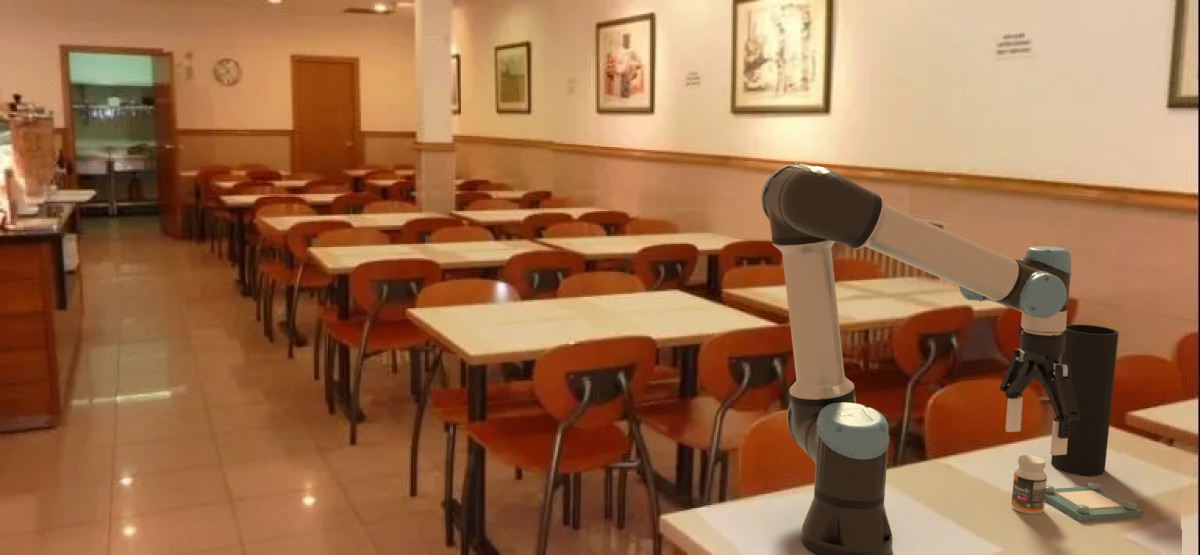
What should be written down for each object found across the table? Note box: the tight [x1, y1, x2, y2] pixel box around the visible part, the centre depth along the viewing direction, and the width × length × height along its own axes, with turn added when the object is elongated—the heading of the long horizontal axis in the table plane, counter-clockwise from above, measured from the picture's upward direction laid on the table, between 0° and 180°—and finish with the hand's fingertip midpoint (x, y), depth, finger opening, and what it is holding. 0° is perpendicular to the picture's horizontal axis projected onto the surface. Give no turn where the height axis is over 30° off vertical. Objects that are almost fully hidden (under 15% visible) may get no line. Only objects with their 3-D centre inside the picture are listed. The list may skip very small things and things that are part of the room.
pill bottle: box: [1010, 454, 1048, 515], centre depth 185 cm, size 6×6×10 cm
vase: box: [1050, 324, 1119, 477], centre depth 207 cm, size 10×10×30 cm
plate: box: [1045, 482, 1144, 523], centre depth 187 cm, size 13×13×2 cm
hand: (1034, 442), depth 184 cm, fingers open, 13 cm apart
